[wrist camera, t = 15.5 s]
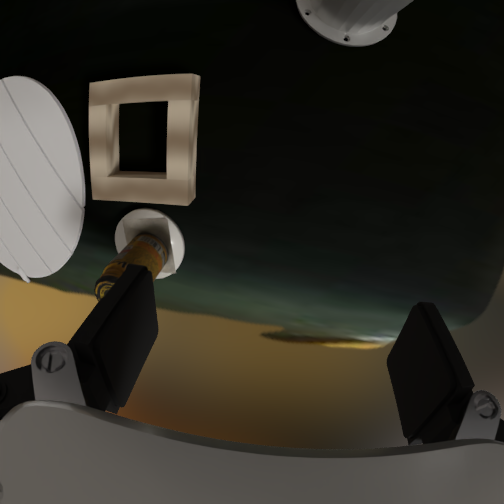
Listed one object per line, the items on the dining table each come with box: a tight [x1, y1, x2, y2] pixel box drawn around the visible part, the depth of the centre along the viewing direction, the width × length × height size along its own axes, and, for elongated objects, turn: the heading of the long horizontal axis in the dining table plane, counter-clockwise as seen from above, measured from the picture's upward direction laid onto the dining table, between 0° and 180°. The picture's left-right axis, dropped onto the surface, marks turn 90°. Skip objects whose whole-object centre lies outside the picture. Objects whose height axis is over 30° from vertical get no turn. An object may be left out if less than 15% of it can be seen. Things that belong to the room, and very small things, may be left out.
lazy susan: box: [0, 76, 85, 283], centre depth 40 cm, size 40×39×3 cm
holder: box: [89, 74, 200, 206], centre depth 35 cm, size 16×14×4 cm
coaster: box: [115, 208, 185, 279], centre depth 43 cm, size 11×11×1 cm
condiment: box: [94, 219, 176, 301], centre depth 37 cm, size 7×8×12 cm
